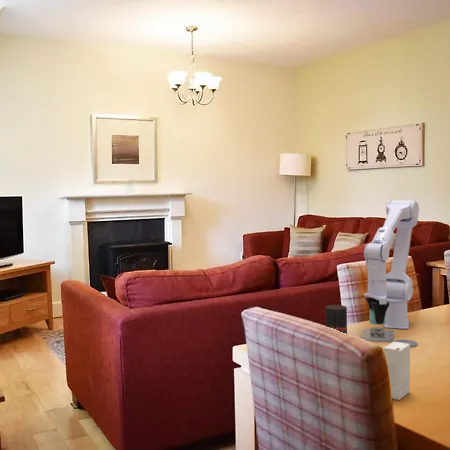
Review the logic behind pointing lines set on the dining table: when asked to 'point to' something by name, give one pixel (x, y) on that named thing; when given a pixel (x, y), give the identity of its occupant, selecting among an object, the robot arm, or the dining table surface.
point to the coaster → (408, 342)
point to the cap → (373, 317)
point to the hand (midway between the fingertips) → (377, 321)
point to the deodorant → (337, 317)
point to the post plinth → (377, 334)
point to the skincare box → (398, 368)
